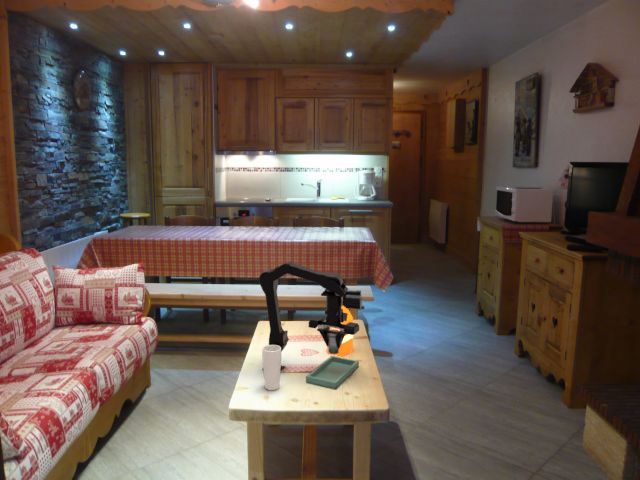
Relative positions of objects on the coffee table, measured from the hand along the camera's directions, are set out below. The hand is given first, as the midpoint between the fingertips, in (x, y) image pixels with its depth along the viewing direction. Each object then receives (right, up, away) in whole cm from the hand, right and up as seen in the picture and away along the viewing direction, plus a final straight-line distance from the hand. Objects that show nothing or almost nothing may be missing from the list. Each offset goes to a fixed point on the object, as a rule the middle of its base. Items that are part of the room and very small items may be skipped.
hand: (333, 347), depth 194 cm
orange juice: (+3, -7, +24) cm, 26 cm away
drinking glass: (-22, -13, -9) cm, 27 cm away
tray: (0, -11, +2) cm, 11 cm away
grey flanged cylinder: (0, -2, 0) cm, 2 cm away
